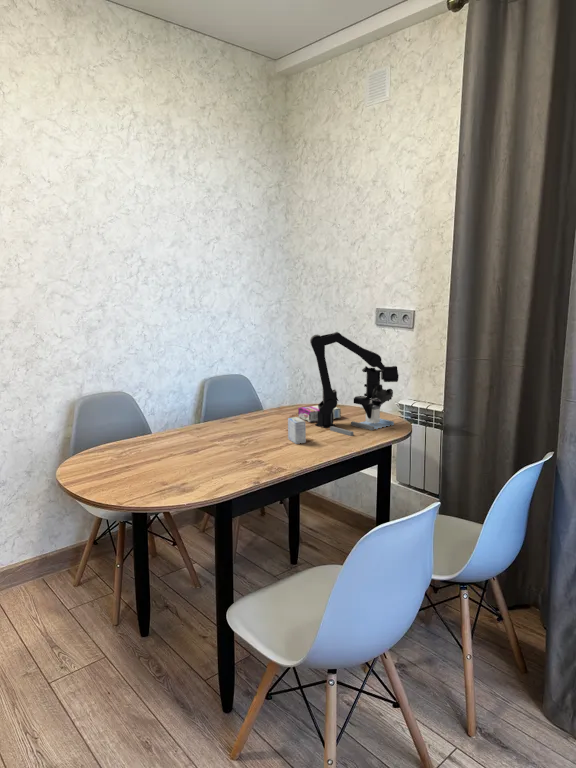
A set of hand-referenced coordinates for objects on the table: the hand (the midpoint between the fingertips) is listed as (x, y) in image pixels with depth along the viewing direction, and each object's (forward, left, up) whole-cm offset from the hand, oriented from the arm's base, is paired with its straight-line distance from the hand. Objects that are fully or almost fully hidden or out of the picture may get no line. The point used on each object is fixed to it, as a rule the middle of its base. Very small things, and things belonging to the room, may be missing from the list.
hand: (372, 417), depth 230 cm
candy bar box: (-17, +26, -1) cm, 31 cm away
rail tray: (-6, 0, -3) cm, 7 cm away
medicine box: (-41, +3, -4) cm, 41 cm away
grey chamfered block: (0, 0, -2) cm, 2 cm away
